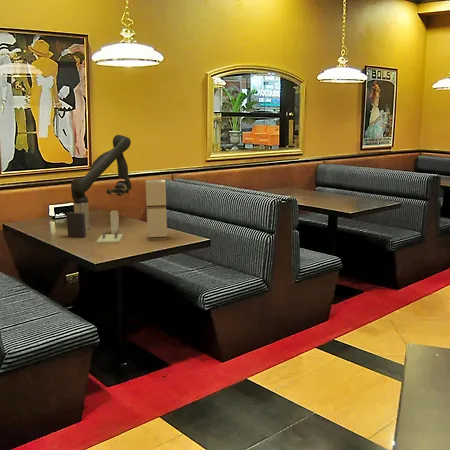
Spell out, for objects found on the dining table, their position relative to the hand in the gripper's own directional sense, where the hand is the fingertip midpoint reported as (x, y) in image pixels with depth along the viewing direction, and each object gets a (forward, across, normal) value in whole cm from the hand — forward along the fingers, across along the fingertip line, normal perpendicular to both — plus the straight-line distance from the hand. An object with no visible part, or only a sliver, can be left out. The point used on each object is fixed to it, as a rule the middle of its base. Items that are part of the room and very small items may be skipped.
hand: (116, 192), depth 354 cm
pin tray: (+29, 0, +24) cm, 38 cm away
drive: (+11, 0, +24) cm, 26 cm away
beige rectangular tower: (+26, +28, +24) cm, 45 cm away
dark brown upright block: (+20, -22, +24) cm, 38 cm away
